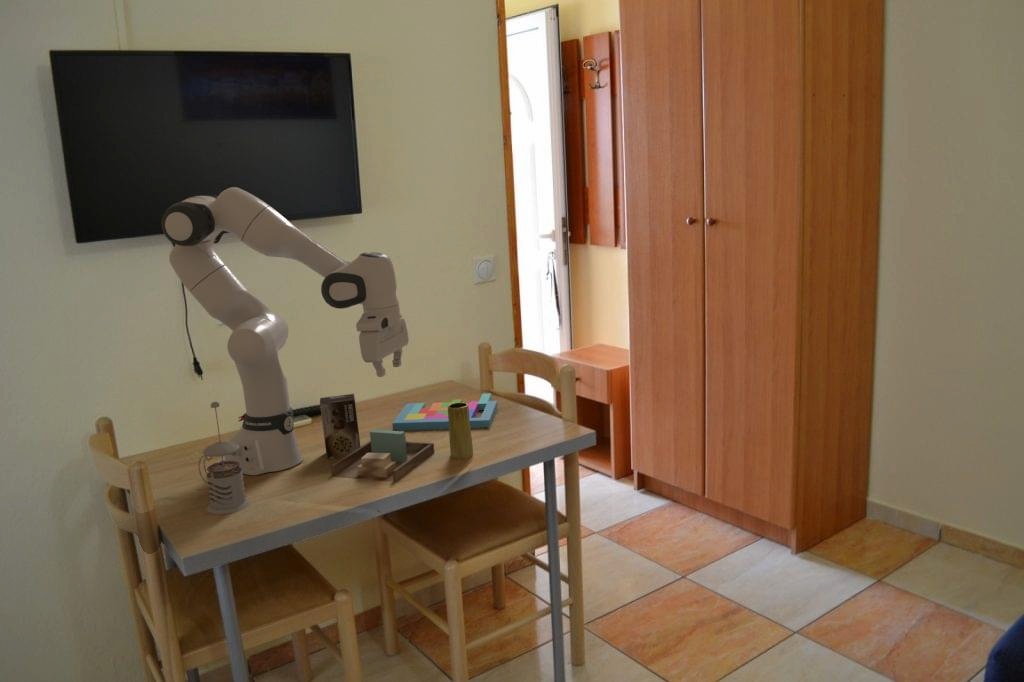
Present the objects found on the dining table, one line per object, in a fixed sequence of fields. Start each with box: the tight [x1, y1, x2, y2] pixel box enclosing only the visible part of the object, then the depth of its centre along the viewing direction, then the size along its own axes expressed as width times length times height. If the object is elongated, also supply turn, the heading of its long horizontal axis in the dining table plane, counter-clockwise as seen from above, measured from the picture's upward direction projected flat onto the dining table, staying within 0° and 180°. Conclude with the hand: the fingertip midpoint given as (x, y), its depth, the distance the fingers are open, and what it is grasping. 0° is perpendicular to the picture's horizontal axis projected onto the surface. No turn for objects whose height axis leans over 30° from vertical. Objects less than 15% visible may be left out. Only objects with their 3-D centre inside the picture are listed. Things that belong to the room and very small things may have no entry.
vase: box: [448, 401, 474, 460], centre depth 220 cm, size 6×6×14 cm
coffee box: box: [319, 393, 362, 460], centre depth 227 cm, size 9×6×16 cm
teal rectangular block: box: [369, 429, 407, 462], centre depth 220 cm, size 9×2×8 cm, turn 69°
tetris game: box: [391, 392, 498, 431], centre depth 260 cm, size 28×3×28 cm
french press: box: [197, 401, 252, 515], centre depth 198 cm, size 10×12×25 cm
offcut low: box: [357, 462, 397, 478], centre depth 212 cm, size 8×5×2 cm, turn 69°
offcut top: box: [361, 453, 391, 467], centre depth 212 cm, size 6×4×2 cm, turn 77°
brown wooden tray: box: [330, 440, 435, 483], centre depth 218 cm, size 18×21×4 cm
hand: (389, 371), depth 218 cm, fingers open, 8 cm apart
